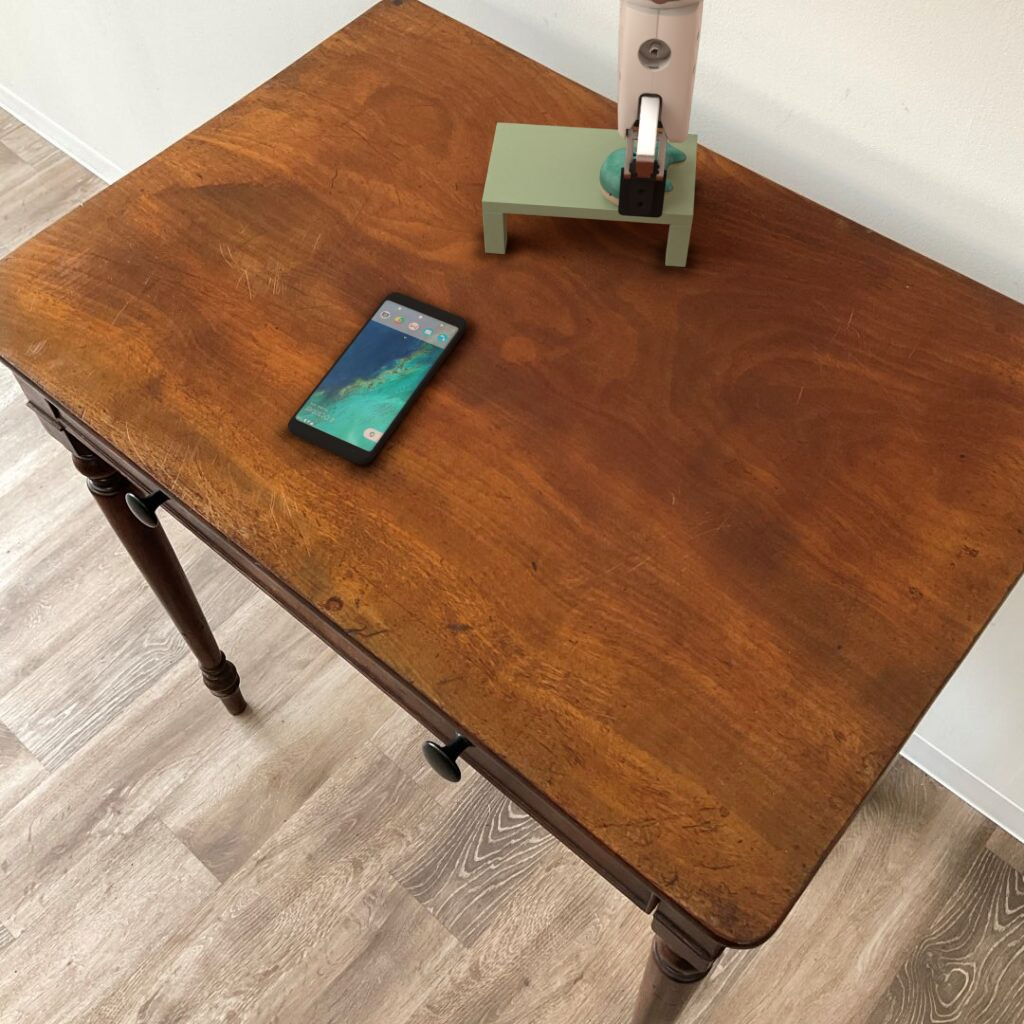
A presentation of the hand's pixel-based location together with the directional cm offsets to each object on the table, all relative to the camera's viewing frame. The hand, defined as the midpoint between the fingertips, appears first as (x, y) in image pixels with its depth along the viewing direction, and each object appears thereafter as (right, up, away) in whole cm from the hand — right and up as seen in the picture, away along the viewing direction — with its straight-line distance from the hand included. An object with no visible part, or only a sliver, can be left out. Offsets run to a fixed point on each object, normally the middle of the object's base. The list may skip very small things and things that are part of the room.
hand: (644, 167), depth 83 cm
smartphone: (-20, -16, -1) cm, 25 cm away
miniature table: (-4, -2, +7) cm, 8 cm away
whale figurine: (0, -1, +1) cm, 2 cm away
